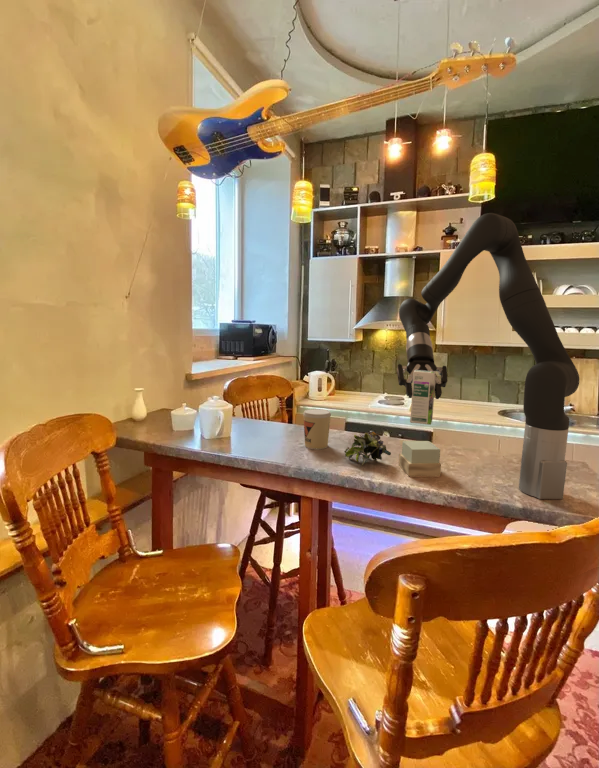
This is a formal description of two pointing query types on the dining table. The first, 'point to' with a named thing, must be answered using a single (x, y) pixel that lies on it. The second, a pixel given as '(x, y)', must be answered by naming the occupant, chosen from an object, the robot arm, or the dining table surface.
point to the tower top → (420, 452)
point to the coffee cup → (316, 428)
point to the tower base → (419, 468)
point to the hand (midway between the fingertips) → (424, 396)
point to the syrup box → (422, 396)
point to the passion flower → (367, 447)
